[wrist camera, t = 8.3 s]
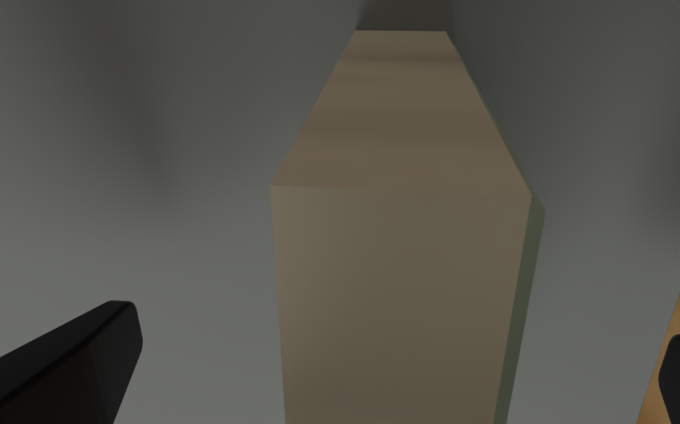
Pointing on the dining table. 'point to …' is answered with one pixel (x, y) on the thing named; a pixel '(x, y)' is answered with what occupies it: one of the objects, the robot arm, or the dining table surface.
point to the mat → (269, 153)
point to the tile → (402, 243)
